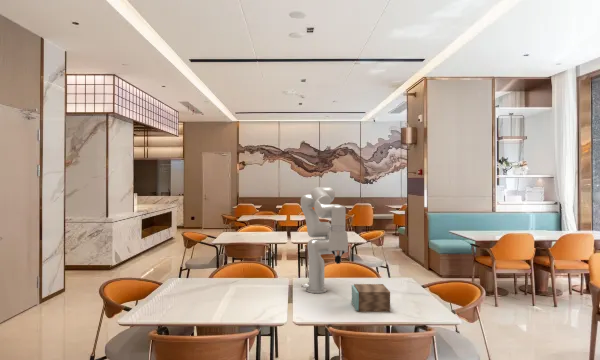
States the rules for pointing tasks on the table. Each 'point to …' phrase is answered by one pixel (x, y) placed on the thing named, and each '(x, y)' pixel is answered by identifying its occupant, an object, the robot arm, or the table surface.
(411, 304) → the table surface
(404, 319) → the table surface
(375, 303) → the cabinet
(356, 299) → the teal drawer
